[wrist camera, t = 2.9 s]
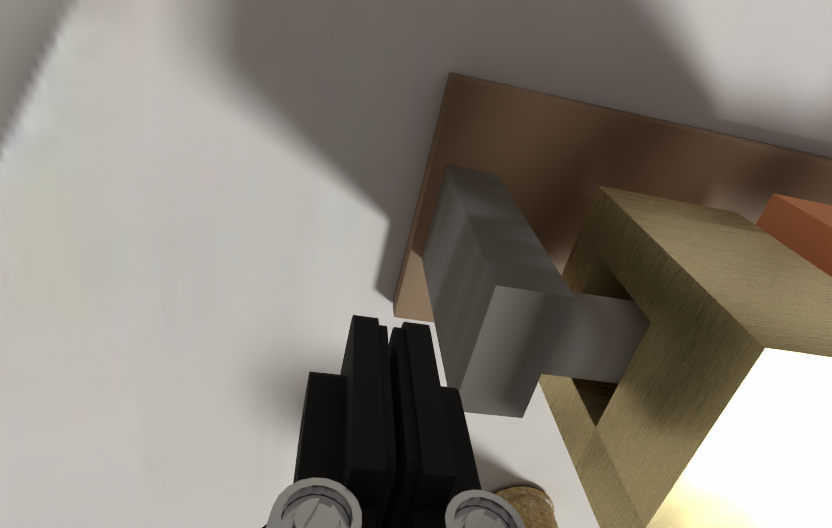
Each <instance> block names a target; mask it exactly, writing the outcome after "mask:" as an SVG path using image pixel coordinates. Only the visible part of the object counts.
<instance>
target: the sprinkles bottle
mask: <svg viewBox="0 0 832 528" xmlns="http://www.w3.org/2000/svg"><path fill="white" fill-rule="evenodd" d="M496 495H498V496H499V497H501V498H502V499H504V500H505V501H507V502H508V503H509V504H510V505H511V506H512V507H513V508H514V509H515V510H516V511H517V512H518V514H519V515H520V517H521V519H522V520H523V522H524V524H525V526H526V528H558V526H557V522H556V520H555V516H554V506H553V503H552V501H551V499H550V497H549V496H548V495H546V494H545V493H544V492H542V491H540V490H538V489H535V488H530V487H511V488H508V489H505V490H501V491H498V492H497V493H496Z"/></svg>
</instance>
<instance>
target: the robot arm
mask: <svg viewBox="0 0 832 528" xmlns="http://www.w3.org/2000/svg"><path fill="white" fill-rule="evenodd" d="M262 528H526V526H525V524H524V522H523V520H522V519H521V517H520V515H519V514H518V512H517V511H516V510H515V509H514V508H513V507H512V506H511V505H510V504H509V503H508V502H507V501H505V500H504V499H502V498H501V497H499V496H498V495H496V494H493V493H490V492H487V491H484V490H481V486H480V481H479V477H478V473H477V468H476V464H475V459H474V455H473V450H472V446H471V441H470V437H469V432H468V428H467V424H466V419H465V415H464V410H463V406H462V401H461V397H460V394H459V391H458V390H457V388H451V387H442V386H440V381H439V375H438V370H437V364H436V359H435V353H434V348H433V342H432V337H431V332H430V327H429V325H424V324H417V323H409V322H404V323H403V324H402V327H401V328H397V327H394V328H393V330H392V333H391V337H390V341H389V345H388V332H387V326H382V325H379V320H378V318H372V317H364V316H357V315H353V317H352V321H351V325H350V330H349V335H348V340H347V345H346V349H345V354H344V359H343V364H342V369H341V374H340V375H335V374H326V373H317V372H309V377H308V383H307V389H306V395H305V401H304V407H303V414H302V420H301V427H300V435H299V442H298V450H297V458H296V466H295V474H294V482H293V484H292V485H290V486H288V487H287V488H286V489H285V490H284V491H283V492H282V493H281V494H280V495H279V496H278V498H277V500H276V502H275V503H274V505H273V507H272V510H271V513H270V516H269V519H268V522H267V524H266V525H265V526H264V527H262Z"/></svg>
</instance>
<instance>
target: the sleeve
mask: <svg viewBox="0 0 832 528" xmlns="http://www.w3.org/2000/svg"><path fill="white" fill-rule="evenodd" d="M561 276H562V278H563V279H564V281H565V282H566V284H567V286H568V287H569V289H570V290H571V292H577V293H584V294H591V295H597V296H604V297H610V298H617V299H623V300H630V301H635V302H636V303H637V305H638V306H639V307H640V308H641V310H642V311H643V312H644V313H645V315H646V316H647V317H648V319H649V320H650V321H651V324H650V326H649V328H648V330H647V331H646V333H645V335H644V337H643V339H642V341H641V343H640V345H639V347H638V348H637V350H636V352H635V354H634V356H633V358H632V360H631V362H630V364H629V366H628V367H627V369H626V371H625V373H624V375H623V377H622V379H621V381H620V383H611V382H603V381H594V380H586V379H578V378H569V377H561V376H553V375H544V374H541V376H540V379H539V383H540V386H541V388H542V391H543V393H544V395H545V398H546V400H547V402H548V405H549V407H550V410H551V412H552V414H553V417H554V419H555V422H556V424H557V426H558V429H559V431H560V434H561V436H562V438H563V441H564V443H565V445H566V448H567V450H568V453H569V455H570V457H571V460H572V462H573V465H574V467H575V469H576V472H577V474H578V477H579V479H580V481H581V484H582V486H583V488H584V491H585V493H586V496H587V498H588V500H589V503H590V505H591V508H592V510H593V512H594V515H595V517H596V520H597V522H598V524H599V527H600V528H832V277H830V276H829V275H828V274H826V273H825V272H823V271H822V270H820V269H819V268H817V267H816V266H814V265H813V264H812V263H810V262H809V261H807V260H806V259H804V258H803V257H801V256H800V255H798V254H797V253H796V252H794V251H793V250H791V249H790V248H788V247H787V246H785V245H784V244H782V243H781V242H779V241H778V240H777V239H775V238H774V237H772V236H771V235H769V234H768V233H766V232H765V231H763V230H762V229H761V228H759V227H758V226H756V225H755V224H753V223H752V222H750V221H749V220H747V219H746V218H744V217H743V216H742V215H740V214H739V213H737V212H732V211H727V210H722V209H717V208H712V207H706V206H701V205H696V204H691V203H686V202H681V201H676V200H670V199H665V198H660V197H655V196H650V195H645V194H640V193H634V192H629V191H624V190H619V189H614V188H609V187H604V186H598V187H597V189H596V192H595V194H594V197H593V199H592V202H591V204H590V206H589V209H588V211H587V214H586V216H585V219H584V221H583V223H582V226H581V228H580V231H579V233H578V236H577V238H576V241H575V243H574V245H573V248H572V250H571V253H570V255H569V258H568V260H567V262H566V265H565V267H564V270H563V272H562V275H561Z"/></svg>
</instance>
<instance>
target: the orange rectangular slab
mask: <svg viewBox="0 0 832 528" xmlns="http://www.w3.org/2000/svg"><path fill="white" fill-rule="evenodd" d="M755 225H756V226H758V227H759V228H761V229H762V230H763V231H765V232H766V233H768V234H769V235H771V236H772V237H774V238H775V239H777V240H778V241H779V242H781V243H782V244H784V245H785V246H787V247H788V248H790V249H791V250H793V251H794V252H796V253H797V254H798V255H800V256H801V257H803V258H804V259H806V260H807V261H809V262H810V263H812V264H813V265H814V266H816V267H817V268H819V269H820V270H822V271H823V272H825V273H826V274H828V275H829V276H830V277H832V205H827V204H822V203H817V202H813V201H808V200H803V199H798V198H793V197H788V196H783V195H778V194H773V195H772V197H771V198H770V200H769V202H768V204H767V205H766V207H765V209H764V211H763V212H762V214H761V216H760V217H759V219H758V221H757V223H756V224H755Z"/></svg>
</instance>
